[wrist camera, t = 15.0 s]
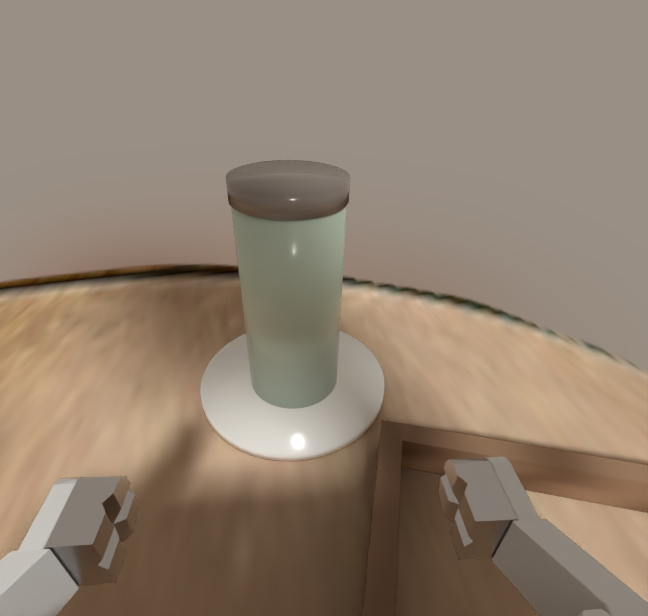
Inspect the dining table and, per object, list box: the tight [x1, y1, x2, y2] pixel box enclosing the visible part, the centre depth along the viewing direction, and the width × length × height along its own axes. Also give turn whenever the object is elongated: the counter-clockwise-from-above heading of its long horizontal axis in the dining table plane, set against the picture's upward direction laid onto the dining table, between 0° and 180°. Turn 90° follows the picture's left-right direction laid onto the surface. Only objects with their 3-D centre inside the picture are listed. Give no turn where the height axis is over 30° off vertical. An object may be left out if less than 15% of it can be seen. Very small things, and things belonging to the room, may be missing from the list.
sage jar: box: [226, 160, 350, 409], centre depth 21 cm, size 5×5×12 cm
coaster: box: [200, 331, 384, 461], centre depth 24 cm, size 11×11×1 cm
